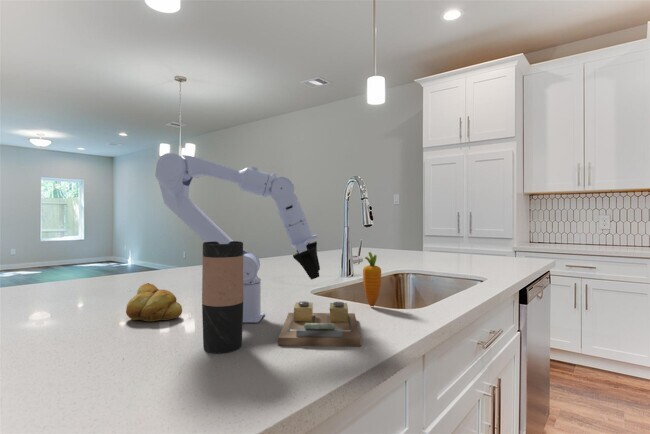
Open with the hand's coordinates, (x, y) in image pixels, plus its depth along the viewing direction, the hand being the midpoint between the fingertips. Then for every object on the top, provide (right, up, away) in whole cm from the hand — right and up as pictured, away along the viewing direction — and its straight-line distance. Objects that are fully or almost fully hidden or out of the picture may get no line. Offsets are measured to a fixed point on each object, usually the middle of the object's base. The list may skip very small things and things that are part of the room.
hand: (315, 274), depth 92 cm
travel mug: (-17, -11, -21) cm, 29 cm away
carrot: (+15, -11, +10) cm, 21 cm away
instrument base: (+1, -11, -11) cm, 15 cm away
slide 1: (-3, -9, -7) cm, 12 cm away
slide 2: (+5, -9, -7) cm, 13 cm away
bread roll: (-39, -11, -2) cm, 40 cm away
